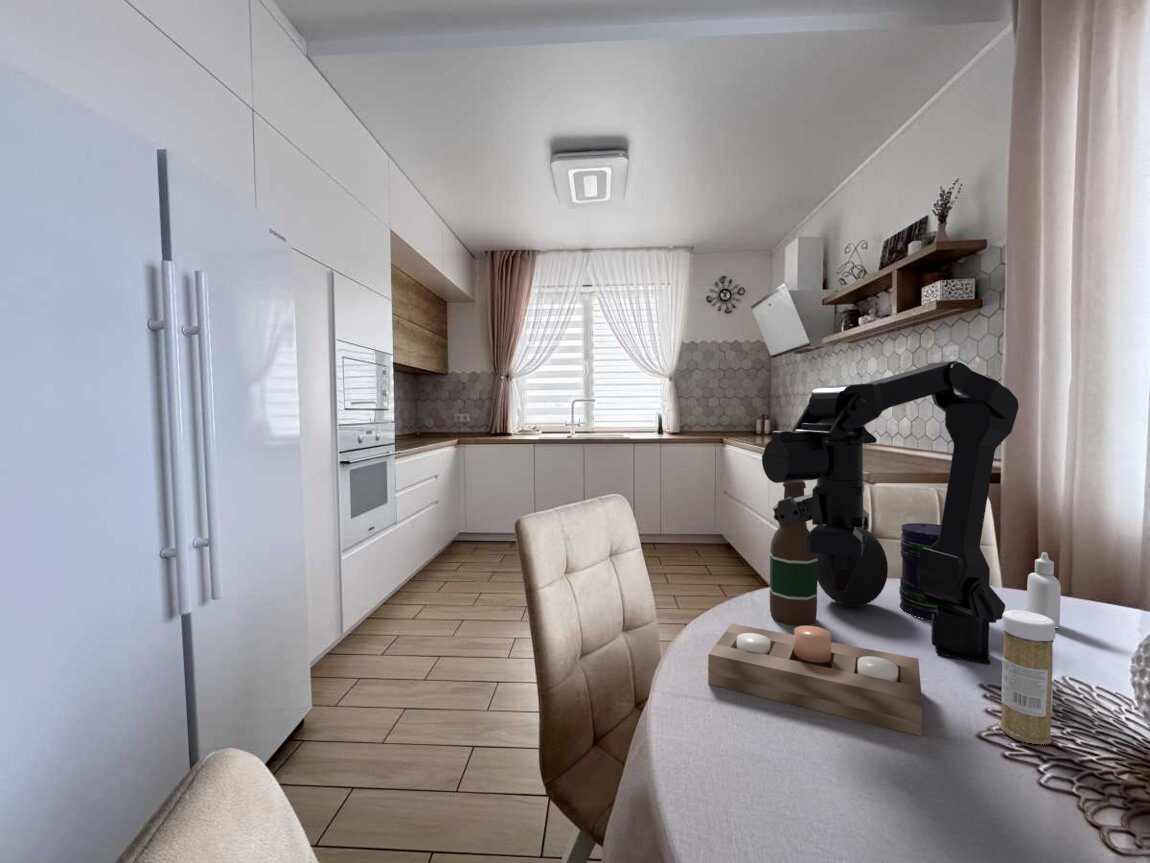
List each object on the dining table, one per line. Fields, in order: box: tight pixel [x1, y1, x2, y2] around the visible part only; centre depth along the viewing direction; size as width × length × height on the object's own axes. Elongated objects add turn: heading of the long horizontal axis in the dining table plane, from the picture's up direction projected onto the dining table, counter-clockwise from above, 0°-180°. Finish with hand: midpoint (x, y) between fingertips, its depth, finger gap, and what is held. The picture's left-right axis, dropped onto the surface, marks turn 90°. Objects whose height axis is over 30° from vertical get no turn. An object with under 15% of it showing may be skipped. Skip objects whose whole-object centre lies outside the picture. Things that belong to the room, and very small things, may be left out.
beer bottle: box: [769, 481, 818, 626], centre depth 96 cm, size 8×8×24 cm
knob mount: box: [707, 623, 923, 737], centre depth 73 cm, size 24×12×4 cm, turn 60°
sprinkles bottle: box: [999, 610, 1056, 746], centre depth 62 cm, size 5×5×14 cm
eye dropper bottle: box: [1026, 551, 1062, 628], centre depth 94 cm, size 4×6×12 cm
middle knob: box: [793, 625, 832, 662], centre depth 73 cm, size 4×4×3 cm
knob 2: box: [857, 656, 898, 682], centre depth 69 cm, size 4×4×3 cm
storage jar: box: [899, 522, 941, 621], centre depth 99 cm, size 10×10×15 cm
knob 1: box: [737, 633, 770, 655], centre depth 77 cm, size 4×4×3 cm
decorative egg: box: [817, 527, 889, 607], centre depth 103 cm, size 12×12×15 cm
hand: (840, 590), depth 77 cm, fingers closed
